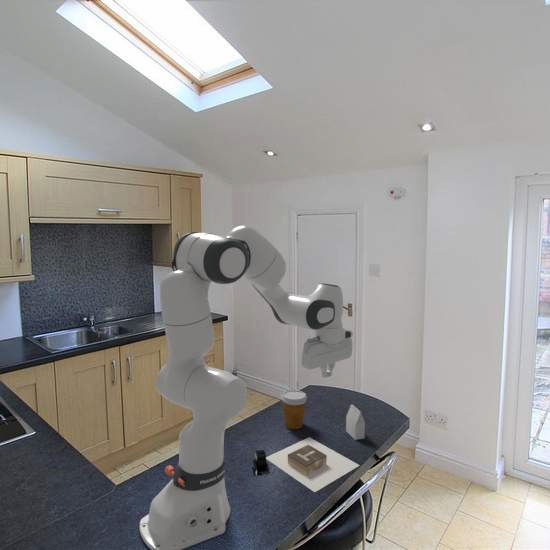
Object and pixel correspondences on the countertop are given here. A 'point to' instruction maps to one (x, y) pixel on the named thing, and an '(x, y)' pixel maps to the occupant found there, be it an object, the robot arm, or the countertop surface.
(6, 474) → the countertop surface
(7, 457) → the countertop surface
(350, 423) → the grey angular block
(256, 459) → the black mounting plate
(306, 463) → the letter block
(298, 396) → the disposable coffee cup
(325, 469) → the felt mat
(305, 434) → the countertop surface
